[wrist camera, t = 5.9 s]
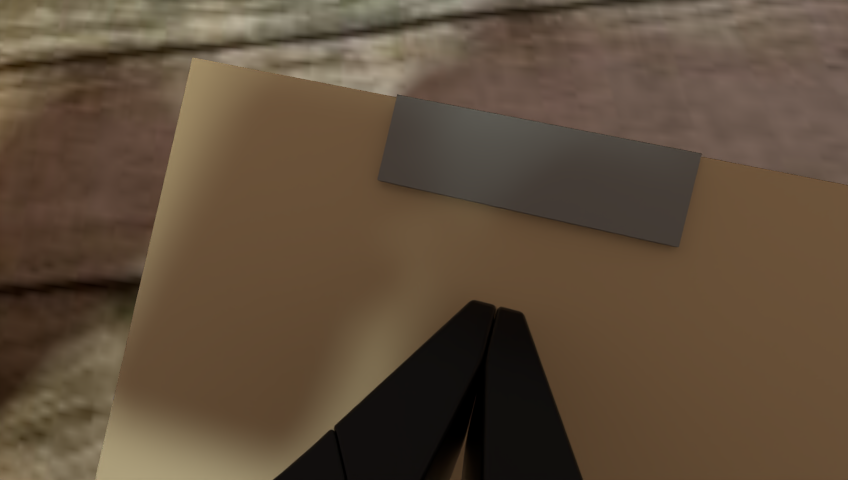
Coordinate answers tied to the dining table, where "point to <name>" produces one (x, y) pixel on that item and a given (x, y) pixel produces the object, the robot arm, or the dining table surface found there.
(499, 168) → the lid
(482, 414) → the robot arm
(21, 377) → the dining table surface
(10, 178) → the dining table surface
